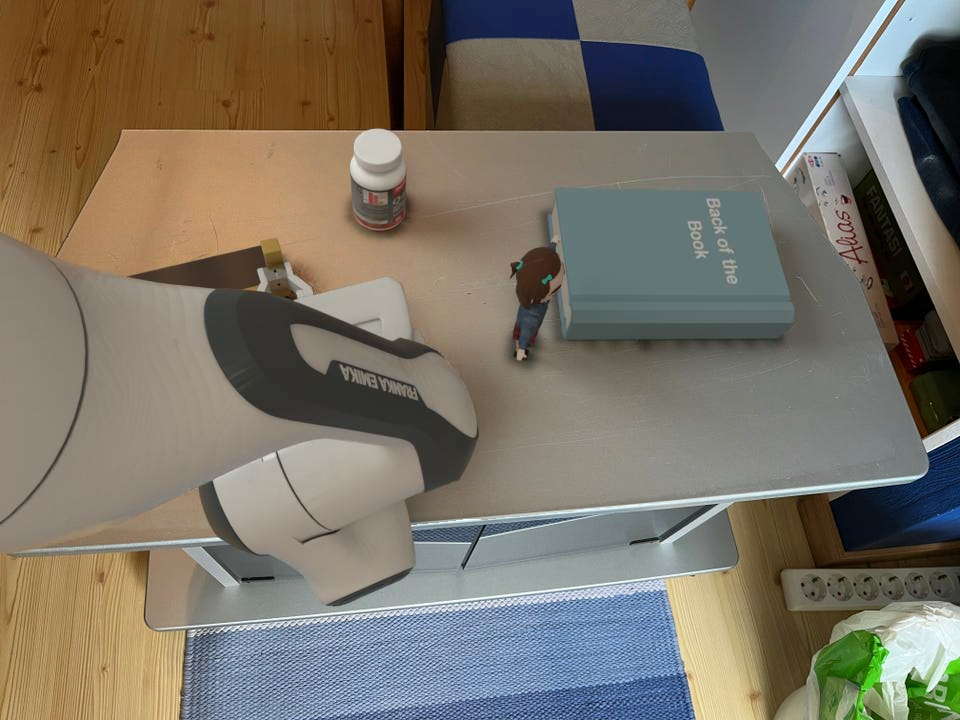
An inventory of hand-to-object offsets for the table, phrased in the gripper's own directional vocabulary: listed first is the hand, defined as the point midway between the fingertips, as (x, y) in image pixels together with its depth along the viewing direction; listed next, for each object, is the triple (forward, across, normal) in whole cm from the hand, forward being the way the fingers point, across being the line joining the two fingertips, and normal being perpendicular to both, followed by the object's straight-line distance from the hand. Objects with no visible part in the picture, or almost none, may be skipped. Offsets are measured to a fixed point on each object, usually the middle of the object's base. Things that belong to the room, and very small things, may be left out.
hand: (274, 268), depth 66 cm
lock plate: (+1, +6, +8) cm, 11 cm away
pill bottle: (+10, -13, +9) cm, 18 cm away
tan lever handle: (+1, +3, +5) cm, 6 cm away
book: (-7, -39, +9) cm, 40 cm away
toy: (-10, -21, +9) cm, 25 cm away
